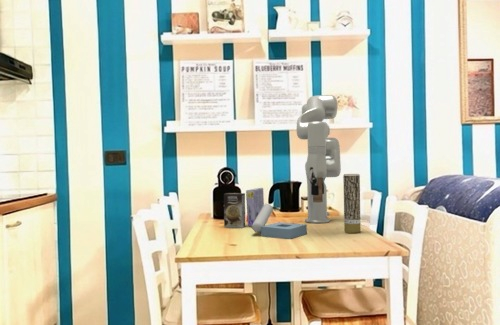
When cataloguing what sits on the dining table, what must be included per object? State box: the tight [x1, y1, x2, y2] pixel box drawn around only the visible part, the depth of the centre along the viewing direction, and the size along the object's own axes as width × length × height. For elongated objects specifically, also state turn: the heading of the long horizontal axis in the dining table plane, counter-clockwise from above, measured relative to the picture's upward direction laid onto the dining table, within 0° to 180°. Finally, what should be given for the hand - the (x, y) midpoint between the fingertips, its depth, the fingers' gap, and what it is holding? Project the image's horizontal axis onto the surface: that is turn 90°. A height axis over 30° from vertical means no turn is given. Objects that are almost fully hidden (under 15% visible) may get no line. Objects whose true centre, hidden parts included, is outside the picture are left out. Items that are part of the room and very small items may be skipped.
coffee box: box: [223, 192, 246, 229], centre depth 219 cm, size 9×6×16 cm
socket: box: [260, 221, 308, 240], centre depth 195 cm, size 14×14×4 cm
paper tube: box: [342, 173, 362, 234], centre depth 198 cm, size 7×7×25 cm
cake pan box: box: [245, 187, 265, 228], centre depth 226 cm, size 19×5×18 cm, turn 165°
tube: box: [251, 203, 274, 234], centre depth 205 cm, size 5×5×25 cm
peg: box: [313, 176, 323, 203], centre depth 194 cm, size 4×4×12 cm
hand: (317, 194), depth 194 cm, fingers closed on peg, 4 cm apart
